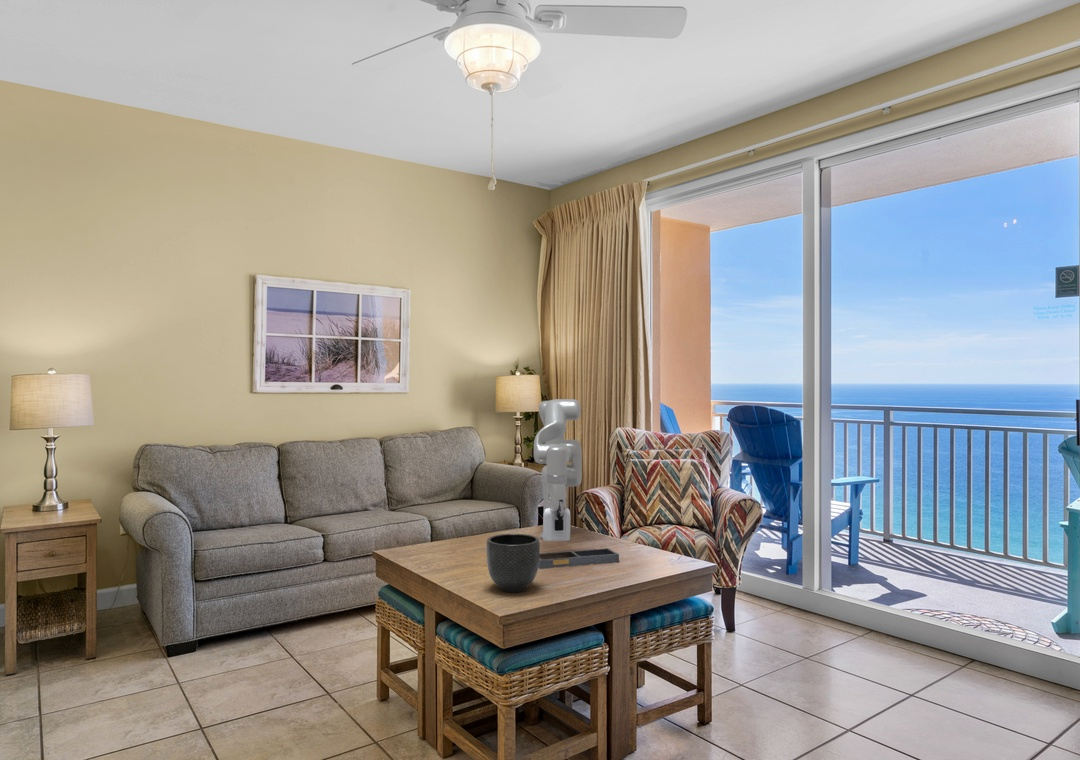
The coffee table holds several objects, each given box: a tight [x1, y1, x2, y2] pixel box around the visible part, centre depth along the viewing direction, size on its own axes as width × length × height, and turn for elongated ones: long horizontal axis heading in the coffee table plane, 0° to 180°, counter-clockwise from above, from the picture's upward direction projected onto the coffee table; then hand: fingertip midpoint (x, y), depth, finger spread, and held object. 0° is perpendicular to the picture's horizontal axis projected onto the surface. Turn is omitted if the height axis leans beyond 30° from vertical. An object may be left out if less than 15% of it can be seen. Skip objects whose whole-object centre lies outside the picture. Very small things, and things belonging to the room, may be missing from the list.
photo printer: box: [542, 507, 572, 542], centre depth 250 cm, size 10×4×12 cm, turn 98°
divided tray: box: [538, 547, 620, 570], centre depth 252 cm, size 10×31×3 cm, turn 108°
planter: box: [486, 533, 541, 593], centre depth 219 cm, size 17×17×16 cm
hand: (556, 528), depth 250 cm, fingers closed on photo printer, 4 cm apart
